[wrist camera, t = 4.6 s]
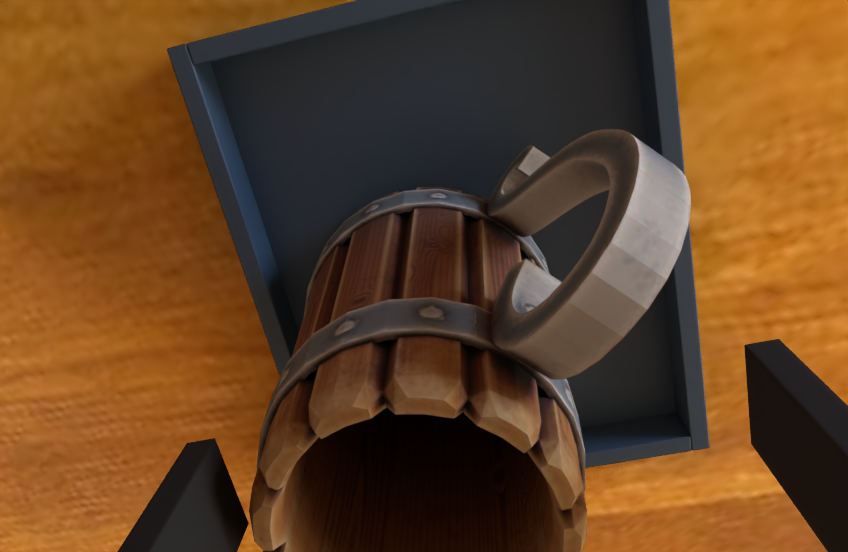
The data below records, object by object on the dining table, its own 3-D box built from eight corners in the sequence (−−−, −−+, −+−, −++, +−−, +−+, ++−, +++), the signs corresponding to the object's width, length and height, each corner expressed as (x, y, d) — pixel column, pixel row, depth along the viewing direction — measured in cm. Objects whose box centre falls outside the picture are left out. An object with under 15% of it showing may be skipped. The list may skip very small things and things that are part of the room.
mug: (462, 434, 32) (471, 749, 18) (273, 324, 31) (125, 579, 17) (676, 171, 27) (911, 330, 13) (465, 21, 26) (484, 24, 12)
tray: (333, 478, 34) (325, 510, 32) (189, 46, 27) (165, 48, 25) (692, 418, 32) (710, 448, 30) (643, -68, 25) (662, -77, 22)
